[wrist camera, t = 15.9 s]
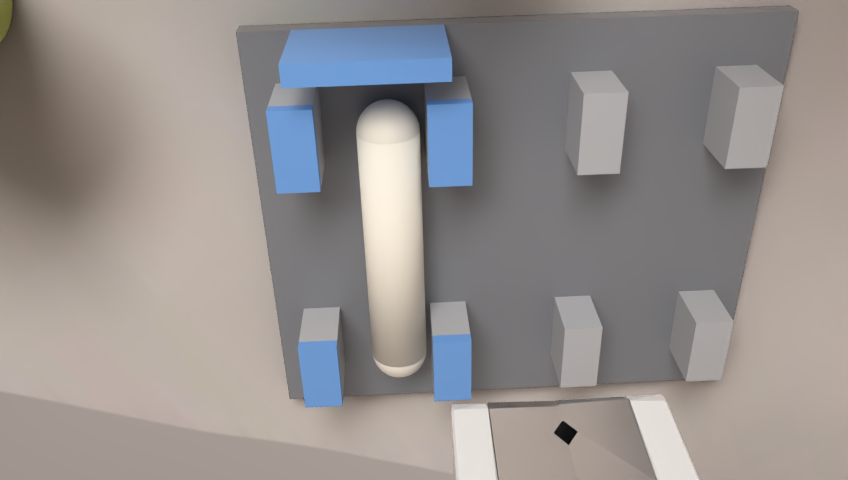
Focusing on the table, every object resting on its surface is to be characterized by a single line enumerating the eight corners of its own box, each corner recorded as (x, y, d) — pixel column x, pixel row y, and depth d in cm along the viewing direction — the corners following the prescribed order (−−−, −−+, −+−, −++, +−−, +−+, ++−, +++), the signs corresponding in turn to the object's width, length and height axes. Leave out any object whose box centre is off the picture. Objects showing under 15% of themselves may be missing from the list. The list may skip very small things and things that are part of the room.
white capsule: (343, 97, 37) (370, 117, 35) (401, 85, 38) (430, 105, 36) (365, 364, 45) (387, 395, 43) (412, 348, 46) (436, 377, 44)
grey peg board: (789, 5, 38) (854, 42, 32) (715, 367, 49) (754, 437, 44) (239, 26, 37) (215, 66, 32) (291, 387, 48) (280, 461, 43)
